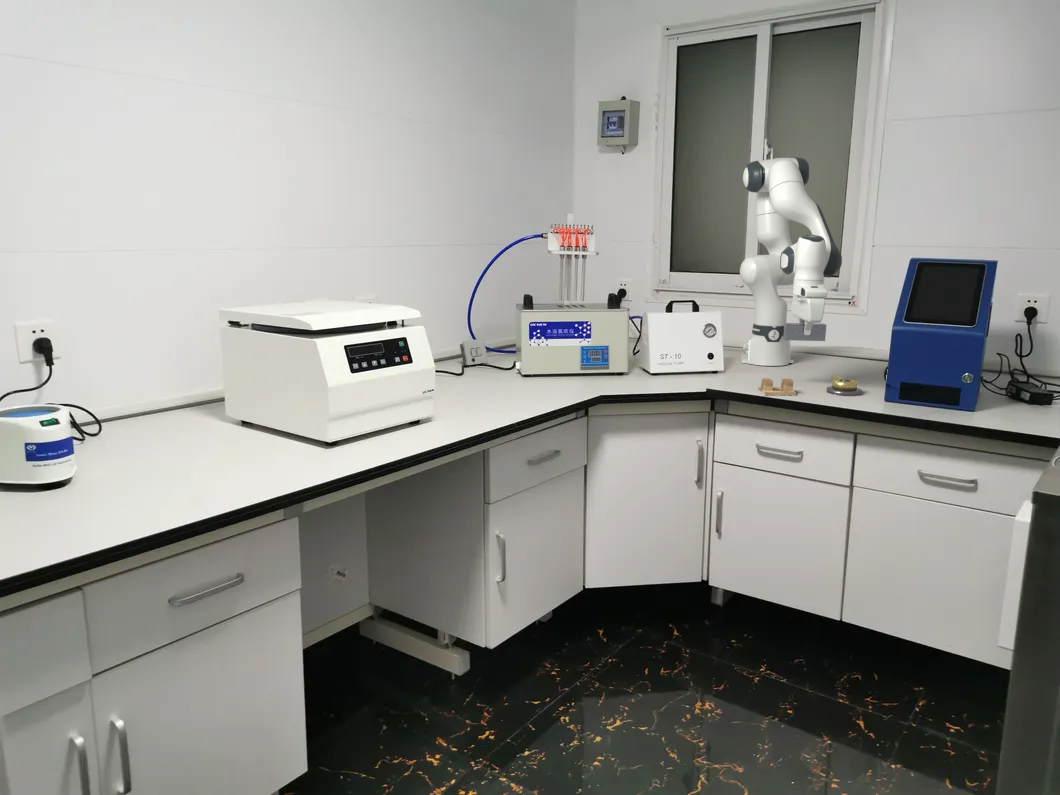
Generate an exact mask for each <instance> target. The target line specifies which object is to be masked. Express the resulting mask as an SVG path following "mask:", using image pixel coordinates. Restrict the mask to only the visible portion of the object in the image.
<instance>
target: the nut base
mask: <svg viewBox="0 0 1060 795" xmlns="http://www.w3.org/2000/svg"><path fill="white" fill-rule="evenodd" d="M826 393H828V394H830V393H831V395H834V394H836V396H842V395H843V396H844V397H855V396H857V395H858V396H861V395H862V394H863V389H861V388H858V387H857V390H855V391H841V390H836V389H833V388H832V385H831V386H827V387H826Z"/></svg>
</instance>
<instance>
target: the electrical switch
mask: <svg viewBox="0 0 1060 795" xmlns="http://www.w3.org/2000/svg"><path fill="white" fill-rule="evenodd" d="M459 347H460V354H461V358H462V362H463V363H462V364H463V365H464V364H466V365H465V366H467V365H472V364H479V363H487V362H488V363H489V359H488V355H487V354H488V353H487V348H486V344H485V339H484V338H477V339H469V340H468V339H467V340H463V341H462V343H460V344H459ZM488 363H487V364H488Z"/></svg>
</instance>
